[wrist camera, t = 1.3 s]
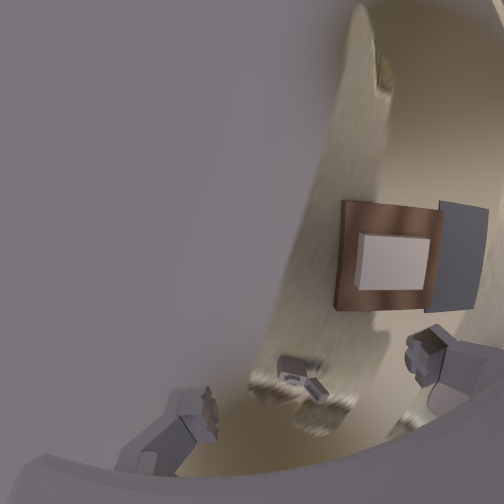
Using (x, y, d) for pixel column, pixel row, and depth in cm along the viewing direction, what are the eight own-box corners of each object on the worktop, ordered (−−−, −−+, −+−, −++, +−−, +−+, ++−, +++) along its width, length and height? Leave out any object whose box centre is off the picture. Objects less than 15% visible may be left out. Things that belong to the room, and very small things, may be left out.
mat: (487, 209, 33) (488, 209, 33) (472, 308, 37) (473, 308, 36) (439, 200, 34) (440, 200, 33) (423, 312, 38) (424, 313, 37)
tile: (421, 236, 33) (430, 239, 31) (414, 284, 35) (422, 289, 32) (358, 232, 34) (365, 235, 31) (353, 284, 35) (359, 290, 33)
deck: (437, 210, 34) (444, 211, 32) (424, 303, 37) (429, 308, 35) (342, 200, 35) (346, 200, 33) (333, 305, 38) (336, 311, 36)
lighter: (276, 364, 41) (277, 396, 33) (280, 355, 40) (282, 387, 33) (317, 373, 41) (325, 405, 33) (321, 365, 40) (330, 396, 33)
